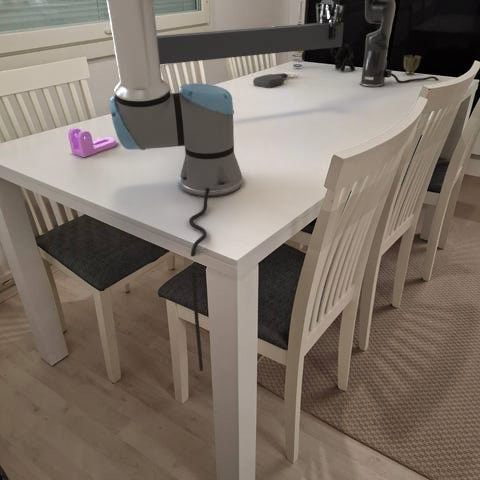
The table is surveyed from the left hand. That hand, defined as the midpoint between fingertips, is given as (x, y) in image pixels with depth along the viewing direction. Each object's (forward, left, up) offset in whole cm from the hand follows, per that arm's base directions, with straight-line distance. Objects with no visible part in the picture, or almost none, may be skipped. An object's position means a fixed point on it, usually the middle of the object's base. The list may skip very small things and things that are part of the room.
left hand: (145, 62), depth 132 cm
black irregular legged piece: (+113, -44, -22) cm, 123 cm away
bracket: (-18, +9, -22) cm, 30 cm away
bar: (+21, -23, -1) cm, 31 cm away
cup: (+111, -75, -22) cm, 136 cm away
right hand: (+42, -46, +2) cm, 63 cm away
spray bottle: (+80, -19, -22) cm, 85 cm away
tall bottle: (+111, -21, -22) cm, 115 cm away
